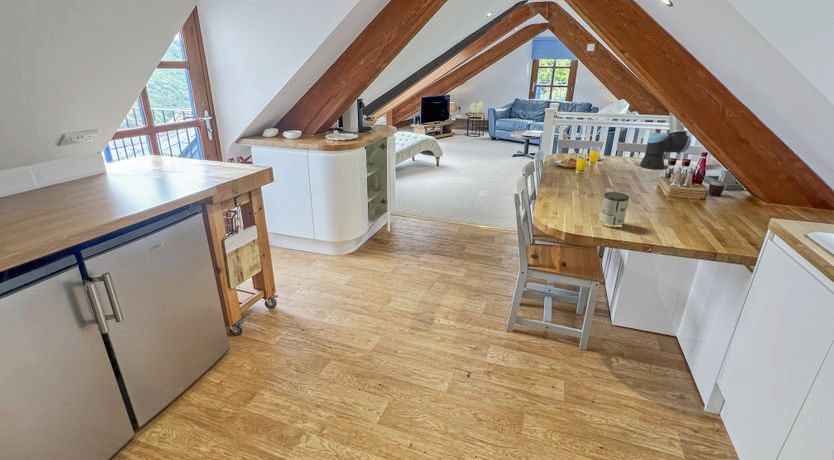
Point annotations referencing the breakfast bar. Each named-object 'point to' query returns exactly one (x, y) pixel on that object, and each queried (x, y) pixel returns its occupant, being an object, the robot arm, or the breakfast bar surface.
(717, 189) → the mate gourd
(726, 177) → the medicine box
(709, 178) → the sorting tray
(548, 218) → the breakfast bar surface
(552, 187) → the breakfast bar surface
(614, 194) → the coffee can
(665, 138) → the robot arm
